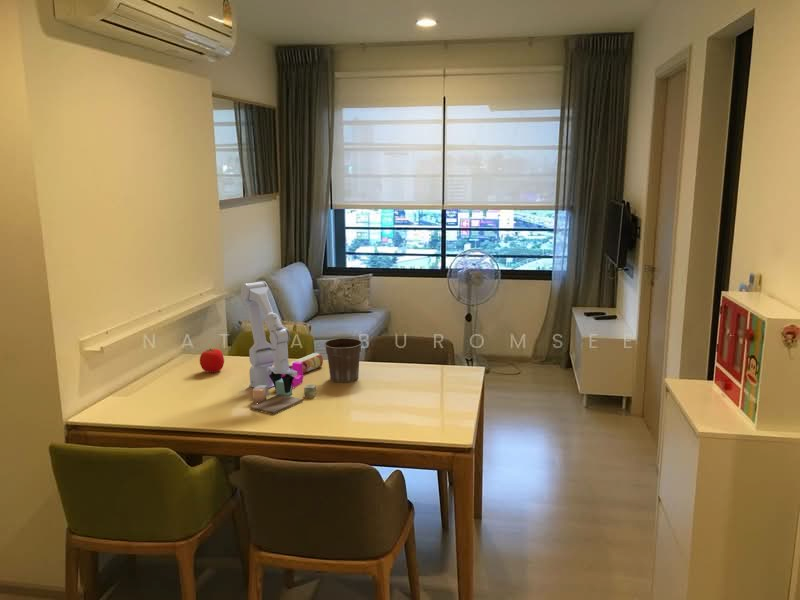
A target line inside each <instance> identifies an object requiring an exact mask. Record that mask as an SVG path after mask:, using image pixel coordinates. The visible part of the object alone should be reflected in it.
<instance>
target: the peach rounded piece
mask: <svg viewBox="0 0 800 600" xmlns="http://www.w3.org/2000/svg"><path fill="white" fill-rule="evenodd" d="M252 399H253V400H252V401H253V404H255V403H260V402H263V401H265V400H267V396H266V388H263V387H259V388H255V387H253V389H252Z"/></svg>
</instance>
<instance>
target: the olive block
mask: <svg viewBox="0 0 800 600" xmlns="http://www.w3.org/2000/svg"><path fill="white" fill-rule="evenodd" d="M303 391H304V395H303V396H304V398H315V397H316V395H317V385H316V384H305V385H304V387H303Z"/></svg>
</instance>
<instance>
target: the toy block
mask: <svg viewBox="0 0 800 600" xmlns="http://www.w3.org/2000/svg"><path fill="white" fill-rule="evenodd" d="M292 370H294V371H297V376H296V377H294V379H293V381H292V389H294V388H295V386H296V387H297V386H299V385H301V384H303V383H302V382H303V379H304V373H303V364H302V363H301V362H294V363H292ZM283 376H285V375H284V374H282V376H281V379H282V377H283ZM300 383H301V384H300ZM293 387H294V388H293Z"/></svg>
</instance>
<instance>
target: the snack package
mask: <svg viewBox="0 0 800 600" xmlns="http://www.w3.org/2000/svg"><path fill="white" fill-rule="evenodd" d="M294 362H301V363H302V364H303V374H305V373H308V372H311V371H313V370H316V369H319V368H321V367H322V366H323V364H324V358H323V355H322V354H321V353H319V352H313V353H311V354H308V355H306V356H303V357H300V358H298V359H294V360H291V361H290V362H288V363H289V368H290V369H292V363H294Z"/></svg>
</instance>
